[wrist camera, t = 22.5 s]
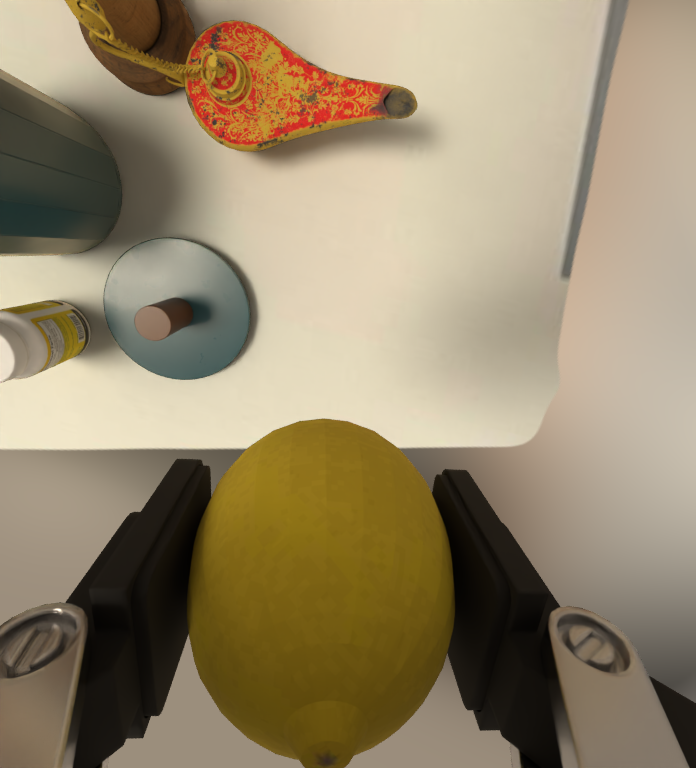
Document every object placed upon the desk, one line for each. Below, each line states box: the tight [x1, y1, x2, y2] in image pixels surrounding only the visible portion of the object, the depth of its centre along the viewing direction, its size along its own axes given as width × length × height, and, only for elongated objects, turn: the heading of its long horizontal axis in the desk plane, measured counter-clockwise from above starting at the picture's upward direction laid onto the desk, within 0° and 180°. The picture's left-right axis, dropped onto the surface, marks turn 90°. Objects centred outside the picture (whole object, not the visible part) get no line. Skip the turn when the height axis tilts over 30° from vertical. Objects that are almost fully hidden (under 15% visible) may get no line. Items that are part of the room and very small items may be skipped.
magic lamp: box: [65, 0, 417, 152], centre depth 24 cm, size 7×18×11 cm, turn 82°
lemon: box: [187, 419, 455, 768], centre depth 9 cm, size 6×6×8 cm
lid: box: [104, 238, 251, 380], centre depth 30 cm, size 11×11×6 cm
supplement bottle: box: [0, 300, 91, 383], centre depth 29 cm, size 5×5×8 cm
